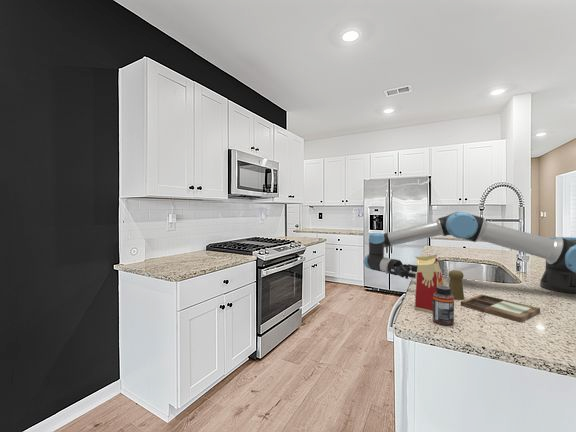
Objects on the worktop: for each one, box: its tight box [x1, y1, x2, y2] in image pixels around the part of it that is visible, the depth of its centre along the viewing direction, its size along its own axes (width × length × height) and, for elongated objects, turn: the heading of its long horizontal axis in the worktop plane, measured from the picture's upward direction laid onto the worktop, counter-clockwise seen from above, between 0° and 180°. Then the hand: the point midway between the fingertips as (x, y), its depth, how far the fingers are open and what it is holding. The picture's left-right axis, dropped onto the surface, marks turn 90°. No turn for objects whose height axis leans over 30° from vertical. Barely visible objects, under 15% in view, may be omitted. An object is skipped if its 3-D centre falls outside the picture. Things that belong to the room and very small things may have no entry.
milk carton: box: [414, 253, 445, 314], centre depth 104 cm, size 9×9×20 cm
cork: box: [448, 269, 465, 301], centre depth 116 cm, size 6×6×11 cm
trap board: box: [460, 294, 541, 323], centre depth 104 cm, size 16×18×2 cm
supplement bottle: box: [432, 285, 455, 326], centre depth 92 cm, size 6×6×11 cm
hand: (432, 275), depth 124 cm, fingers open, 13 cm apart
